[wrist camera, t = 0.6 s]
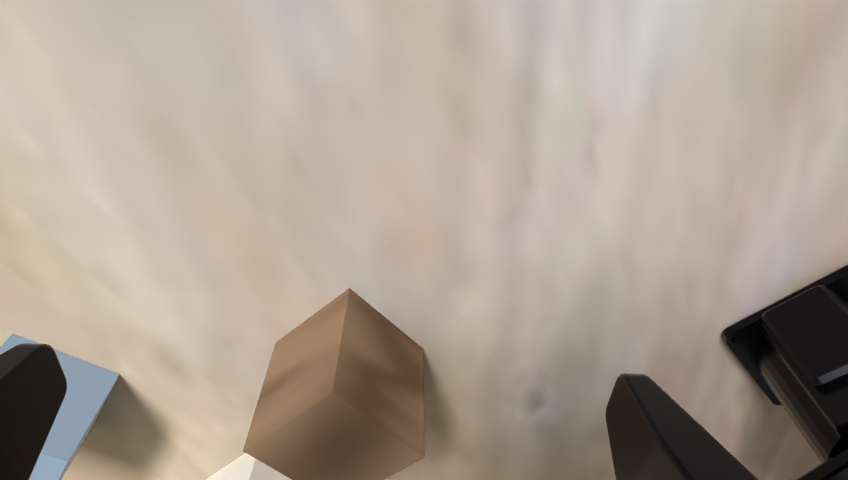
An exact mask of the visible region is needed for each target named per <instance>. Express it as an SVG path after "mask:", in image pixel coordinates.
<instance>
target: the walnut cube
mask: <svg viewBox="0 0 848 480" xmlns="http://www.w3.org/2000/svg"><path fill="white" fill-rule="evenodd" d="M243 452H245V453H247V454H249V455H250V456H252V457H254V458H255V459H257V460H259V461H261V462H262V463H264V464H266V465H267V466H269V467H271V468H273V469H274V470H276V471H278V472H280V473H281V474H283V475H285V476H286V477H288V478H290V479H292V480H384V479H386V478H388V477H389V476H391V475H393V474H395V473H397V472H399V471H400V470H402V469H404V468H406V467H408V466H410V465H411V464H413V463H415V462H417V461H419V460H421V459H423V458H424V457H425V452H424V367H423V348H422V347H420V346H419V345H418V344H417V343H416V342H414V341H413V340H412V339H411V338H409V337H408V336H407V335H406V334H405V333H403V332H402V331H401V330H400V329H399V328H397V327H396V326H395V325H394V324H392V323H391V322H390V321H389V320H388V319H386V318H385V317H384V316H383V315H381V314H380V313H379V312H378V311H377V310H375V309H374V308H373V307H372V306H371V305H369V304H368V303H367V302H366V301H364V300H363V299H362V298H361V297H360V296H358V295H357V294H356V293H355V292H353V291H352V290H351V289H350V288H349V289H348V290H346V291H345V292H344V293H342V294H341V295H340V296H338V297H337V298H336V299H334V300H333V301H332V302H330V303H329V304H327V305H326V306H325V307H323V308H322V309H321V310H319V311H318V312H317V313H315V314H314V315H313V316H311V317H310V318H308V319H307V320H306V321H304V322H303V323H302V324H300V325H299V326H298V327H296V328H295V329H294V330H292V331H291V332H289V333H288V334H287V335H285V336H284V337H283V338H281V339H280V340H279V341H277V342H276V343H275V347H274V350H273V353H272V357H271V360H270V363H269V367H268V370H267V373H266V377H265V380H264V383H263V387H262V390H261V393H260V396H259V400H258V403H257V406H256V410H255V413H254V416H253V420H252V423H251V426H250V430H249V433H248V436H247V439H246V443H245V446H244V449H243Z"/></svg>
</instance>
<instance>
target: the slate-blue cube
mask: <svg viewBox="0 0 848 480" xmlns="http://www.w3.org/2000/svg"><path fill="white" fill-rule="evenodd" d="M23 343H34V344H39V343H37V342H34V341H32V340H29V339H26V338H24V337H21V336H18V335H16V334H12V335H11V336H10V337H9V338H8V339H7V340H6V342H5V343H4V344H3V345H2V346H1V347H0V354H2V353H4V352H6V351H7V350H9V349H11V348H13V347H15V346H17V345H19V344H23ZM54 351H55V353H56V355H57V358H58V360H59V362H60V365H61V367H62V370H63V372H64V375H65V377H66V380H67V391H66V395H65V398H64V400H63V402H62V405H61V407H60V409H59V411H58V414H57V416H56V418H55V421H54V423H53V425H52V428H51V430H50V432H49V435H48V437H47V439H46V442H45V444H44V446H43V449H42V451H41V453H40V456H39V458H38V460H37V463H36V465H35V467H34V470H33V472H32V474H31V476H30V478H29V480H61V479H62V477H63V476H64V474H65V472H66V470H67V469H68V467H69V465H70V464H71V462H72V460H73V459H74V457H75V455H76V453H77V452H78V450H79V448H80V447H81V445H82V443H83V441H84V440H85V438H86V436H87V435H88V433H89V431H90V430H91V428H92V426H93V424H94V422H95V420H96V418H97V416H98V414H99V413H100V411H101V409H102V407H103V405H104V403H105V401H106V399H107V397H108V395H109V394H110V392H111V390H112V388H113V386H114V384H115V382H116V380H117V378H118V376H119V375H120V374H118V373H115V372H113V371H110V370H108V369H105V368H102V367H100V366H97V365H94V364H92V363H89V362H87V361H84V360H81V359H79V358H76V357H73V356H71V355H68V354H66V353H63V352H60V351H58V350H55V349H54Z"/></svg>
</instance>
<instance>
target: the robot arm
mask: <svg viewBox="0 0 848 480" xmlns="http://www.w3.org/2000/svg"><path fill="white" fill-rule="evenodd" d="M734 336H735V337H734ZM722 337H723V339H724V340H725V342H726V343H727V345H728V346H729V347H730V349H731V350H732V351H733V353H734V354H735V355H736V356H737V358H738V359H739V360H740V362H741V363H742V364H743V365H744V367H745V368H746V369H747V370H748V372H749V373H750V374H751V376H752V377H753V378H754V379H755V381H756V382H757V383H758V385H759V386H760V387H761V388H762V390H763V391H764V392H765V394H766V395H767V396H768V397H769V399H770V400H771V401H772V403H774V404H775V405H782V406H783V407H784V408H785V410H786V411H787V413H788V414H789V416H790V417H791V419H792V420H793V422H794V423H795V424H796V426H797V427H798V429H799V430H800V432H801V433H802V435H803V436H804V438H805V439H806V441H807V442H808V443H809V445H810V446H811V448H812V449H813V451H814V452H815V454H816V455H817V457H818V458H819V459H820V461H821V462H822V464H820V465H819V466H817V467H815V468H814V469H812V470H811V471H809V472H807V473H806V474H804V475H803V476H801V477H799V478H798V479H796V480H848V266H846V267H844V268H842V269H840V270H838V271H836V272H834V273H832V274H830V275H828V276H826V277H825V278H823V279H821V280H819V281H817V282H815V283H813V284H811V285H809V286H807V287H805V288H803V289H801V290H799V291H798V292H796V293H794V294H792V295H790V296H788V297H786V298H784V299H782V300H780V301H778V302H776V303H774V304H773V305H771V306H769V307H767V308H765V309H763V310H761V311H759V312H757V313H755V314H753V315H751V316H749V317H748V318H746V319H744V320H742V321H740V322H738V323H736V324H734V325H732V326H730V327H728V328H727V329H726V330H725V331H724V332H723V334H722ZM66 391H67V380H66V377H65V375H64V372H63V370H62V367H61V365H60V362H59V360H58V358H57V355H56V353H55V351H54V349H53V348H52V347H51V346H50V345H47V344H34V343H23V344H19V345H17V346H15V347H13V348H11V349H9V350H7V351H6V352H4V353H2V354H0V480H29V478H30V476H31V474H32V472H33V470H34V467H35V465H36V463H37V460H38V458H39V456H40V453H41V451H42V449H43V446H44V444H45V442H46V439H47V437H48V435H49V432H50V430H51V428H52V425H53V423H54V421H55V418H56V416H57V414H58V411H59V409H60V407H61V405H62V402H63V400H64V398H65V395H66ZM606 423H607V429H608V435H609V440H610V446H611V452H612V458H613V464H614V469H615V475H616V480H758V479H757V478H756V477H755V476H754V475H753V474H752V473H751V472H750V471H749V470H747V469H746V468H745V467H744V466H743V465H742V464H741V463H740V462H739V461H738V460H737V459H736V458H735V457H734V456H733V455H731V454H730V453H729V452H728V451H727V450H726V449H725V448H724V447H723V446H722V445H721V444H720V443H719V442H718V441H717V440H716V439H714V438H713V437H712V436H711V435H710V434H709V433H708V432H707V431H706V430H705V429H704V428H703V427H702V426H701V425H700V424H698V423H697V422H696V421H695V420H694V419H693V418H692V417H691V416H690V415H689V414H688V413H687V412H686V411H685V410H684V409H683V408H681V407H680V406H679V405H678V404H677V403H676V402H675V401H674V400H673V399H672V398H671V397H670V396H669V395H668V394H667V393H665V392H664V391H663V390H662V389H661V388H660V387H659V386H658V385H657V384H656V383H655V382H654V381H653V380H652V379H650V378H649V377H648V376H646V375H643V374H626V373H624V374H621V375H620V376H619V377H618V378H617V380H616V383H615V386H614V388H613V391H612V394H611V396H610V399H609V402H608V405H607V408H606Z"/></svg>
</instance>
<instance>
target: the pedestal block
mask: <svg viewBox="0 0 848 480" xmlns="http://www.w3.org/2000/svg"><path fill="white" fill-rule="evenodd" d="M206 480H292V479H290V478H288V477H286V476H285V475H283V474H281V473H280V472H278V471H276V470H274V469H273V468H271V467H269V466H267V465H266V464H264V463H262V462H261V461H259V460H257V459H255V458H254V457H252V456H250V455H249V454H247V453H245V454H243V455H242V456H240V457H239V458H237V459H236V460H234V461H233V462H231V463H230V464H228V465H227V466H225V467H224V468H223V469H221V470H220V471H218V472H217V473H215V474H214V475H212V476H211V477H209V478H208V479H206Z"/></svg>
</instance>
